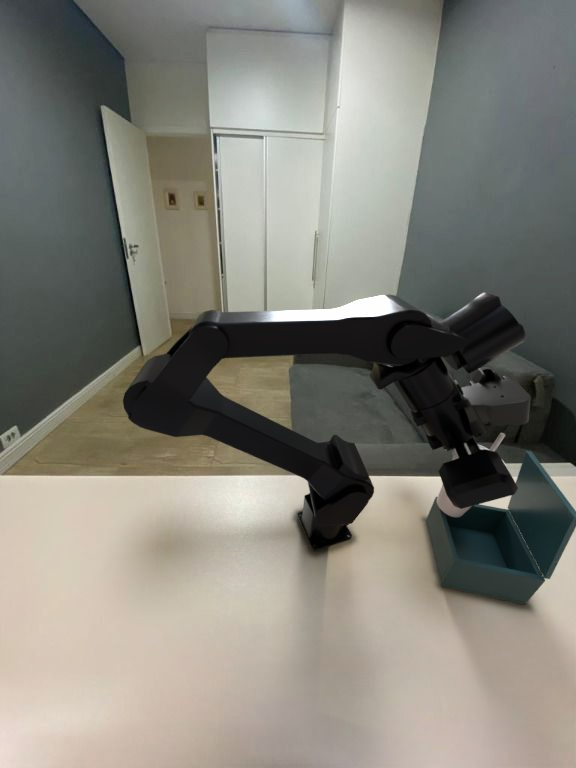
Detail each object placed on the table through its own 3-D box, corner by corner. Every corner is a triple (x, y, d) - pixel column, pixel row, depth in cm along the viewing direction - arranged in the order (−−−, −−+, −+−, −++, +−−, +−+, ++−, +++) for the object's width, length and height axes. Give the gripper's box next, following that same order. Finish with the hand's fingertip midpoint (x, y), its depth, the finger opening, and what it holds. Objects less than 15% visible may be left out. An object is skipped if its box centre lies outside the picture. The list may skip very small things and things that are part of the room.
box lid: (574, 517, 31) (581, 517, 31) (525, 450, 40) (531, 450, 40) (544, 578, 36) (550, 579, 36) (507, 507, 45) (511, 508, 45)
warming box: (440, 586, 40) (454, 561, 38) (425, 520, 49) (435, 496, 46) (525, 605, 39) (545, 580, 36) (493, 533, 48) (508, 509, 45)
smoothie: (479, 531, 42) (539, 458, 34) (432, 519, 42) (480, 444, 35) (465, 493, 47) (513, 423, 40) (423, 483, 48) (463, 411, 40)
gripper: (554, 410, 25) (603, 524, 30) (473, 328, 41) (514, 412, 46) (420, 458, 29) (482, 550, 34) (394, 368, 45) (439, 440, 50)
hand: (480, 477), depth 41 cm, fingers closed on smoothie, 6 cm apart
